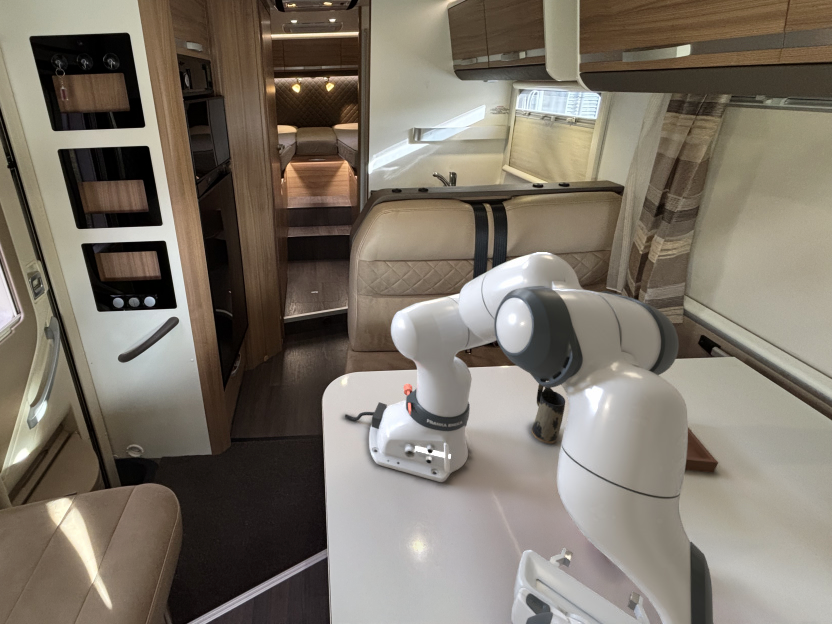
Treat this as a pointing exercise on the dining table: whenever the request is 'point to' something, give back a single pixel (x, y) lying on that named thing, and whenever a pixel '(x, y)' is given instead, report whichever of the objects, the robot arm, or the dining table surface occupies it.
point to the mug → (548, 415)
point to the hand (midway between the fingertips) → (600, 573)
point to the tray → (698, 456)
